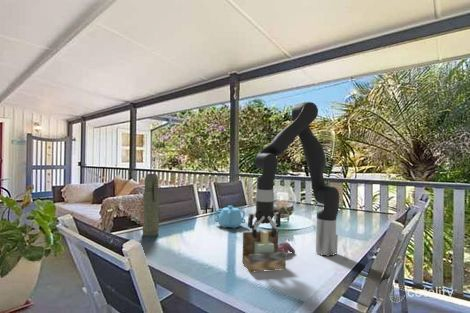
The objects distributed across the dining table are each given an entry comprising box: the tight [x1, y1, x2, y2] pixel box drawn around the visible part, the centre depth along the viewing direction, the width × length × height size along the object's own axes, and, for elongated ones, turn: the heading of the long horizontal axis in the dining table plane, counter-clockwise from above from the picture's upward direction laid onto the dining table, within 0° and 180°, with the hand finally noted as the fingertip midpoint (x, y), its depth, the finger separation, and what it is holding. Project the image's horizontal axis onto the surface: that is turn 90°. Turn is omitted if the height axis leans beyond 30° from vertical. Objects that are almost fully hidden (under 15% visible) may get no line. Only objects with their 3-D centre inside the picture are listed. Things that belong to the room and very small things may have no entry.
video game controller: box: [278, 241, 296, 259], centre depth 145 cm, size 10×5×7 cm, turn 141°
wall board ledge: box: [241, 229, 287, 273], centre depth 130 cm, size 16×10×14 cm, turn 105°
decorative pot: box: [214, 205, 246, 229], centre depth 198 cm, size 16×16×14 cm
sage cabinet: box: [254, 229, 274, 254], centre depth 130 cm, size 7×5×11 cm
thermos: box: [142, 173, 160, 238], centre depth 174 cm, size 9×12×35 cm
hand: (264, 237), depth 130 cm, fingers open, 8 cm apart
